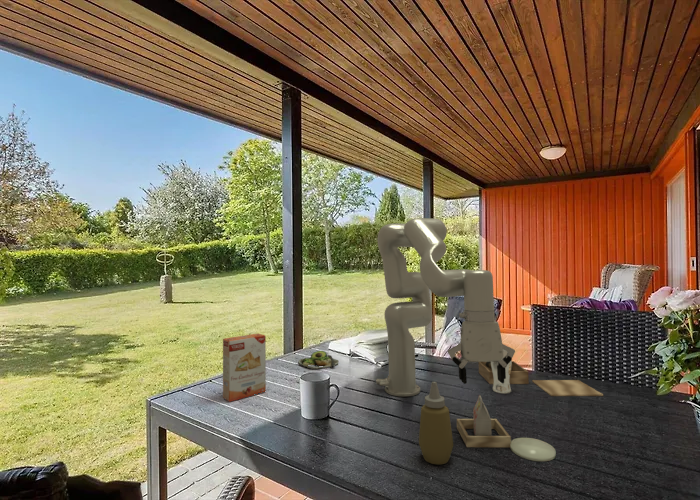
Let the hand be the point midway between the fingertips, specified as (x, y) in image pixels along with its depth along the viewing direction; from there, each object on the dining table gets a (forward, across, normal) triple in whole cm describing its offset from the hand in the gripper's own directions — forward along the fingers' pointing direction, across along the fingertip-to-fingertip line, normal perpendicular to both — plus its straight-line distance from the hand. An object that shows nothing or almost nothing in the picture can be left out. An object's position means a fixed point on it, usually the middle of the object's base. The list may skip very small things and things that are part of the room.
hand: (482, 381), depth 100 cm
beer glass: (+14, +17, +36) cm, 42 cm away
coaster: (+15, +10, -6) cm, 19 cm away
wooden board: (+14, +40, +38) cm, 57 cm away
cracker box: (+13, -74, +32) cm, 82 cm away
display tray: (+14, +22, +50) cm, 56 cm away
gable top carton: (+15, 0, +1) cm, 15 cm away
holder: (+15, 0, +1) cm, 15 cm away
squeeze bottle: (+15, -14, -10) cm, 23 cm away
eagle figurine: (+14, +20, +50) cm, 55 cm away
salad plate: (+13, -53, +72) cm, 90 cm away
